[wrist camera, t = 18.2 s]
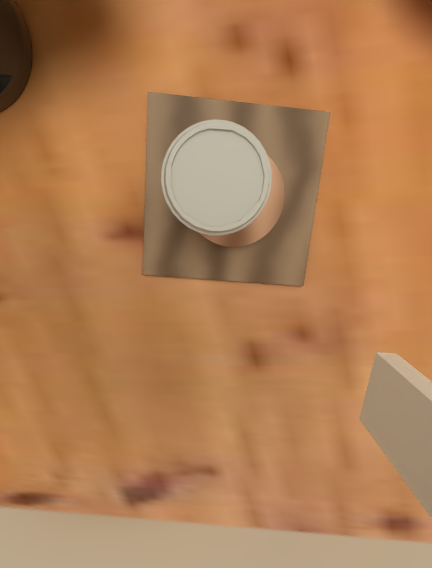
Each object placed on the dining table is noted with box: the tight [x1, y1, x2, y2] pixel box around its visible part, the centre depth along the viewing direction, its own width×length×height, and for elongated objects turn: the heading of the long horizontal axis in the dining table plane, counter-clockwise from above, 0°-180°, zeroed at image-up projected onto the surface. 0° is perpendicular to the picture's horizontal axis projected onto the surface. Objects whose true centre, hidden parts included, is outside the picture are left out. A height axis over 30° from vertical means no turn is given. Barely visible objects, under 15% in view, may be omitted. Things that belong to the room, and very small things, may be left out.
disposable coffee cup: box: [161, 119, 272, 235], centre depth 33 cm, size 10×10×12 cm
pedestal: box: [142, 92, 330, 286], centre depth 41 cm, size 22×22×4 cm
